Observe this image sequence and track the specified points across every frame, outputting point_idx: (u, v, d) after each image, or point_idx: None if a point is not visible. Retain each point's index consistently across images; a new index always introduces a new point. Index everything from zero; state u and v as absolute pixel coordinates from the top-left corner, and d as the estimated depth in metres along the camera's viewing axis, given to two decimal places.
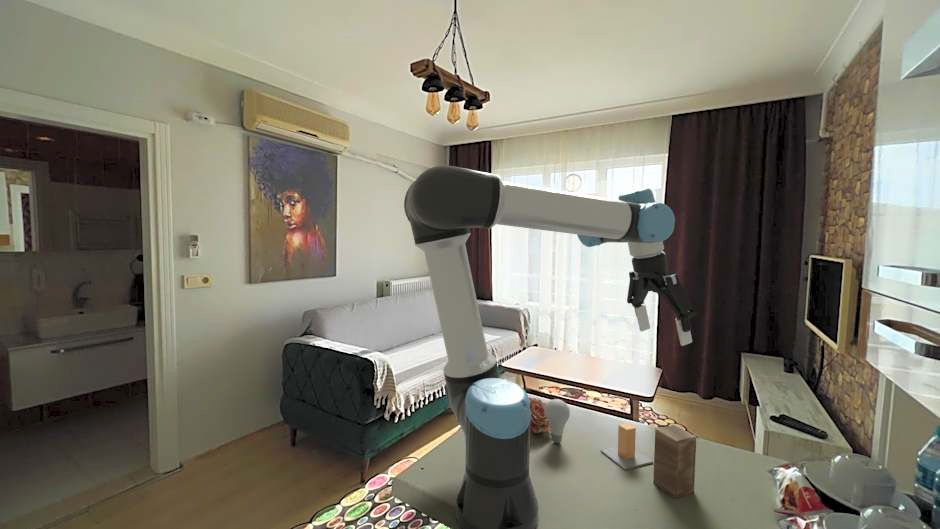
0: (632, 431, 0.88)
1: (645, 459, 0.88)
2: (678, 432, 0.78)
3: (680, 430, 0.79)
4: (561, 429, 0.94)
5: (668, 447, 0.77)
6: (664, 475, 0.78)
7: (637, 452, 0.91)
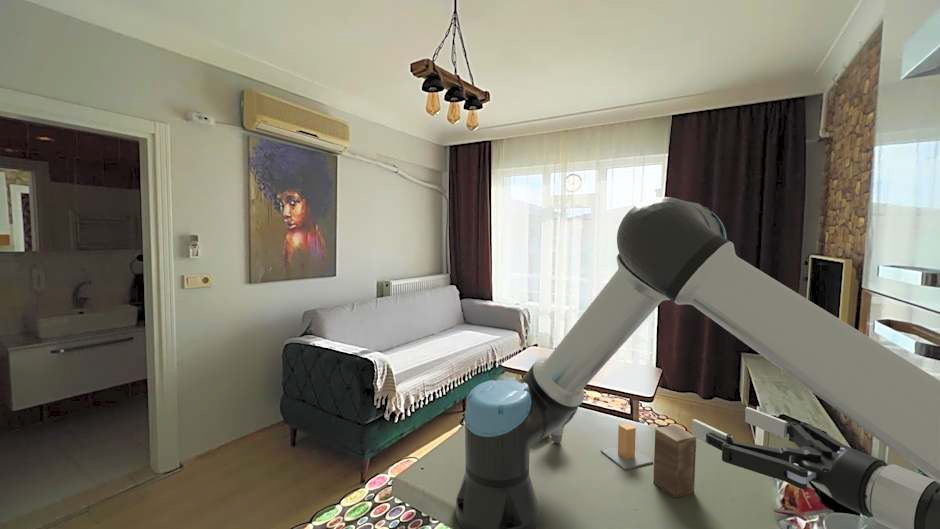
0: (632, 431, 0.88)
1: (645, 459, 0.88)
2: (678, 432, 0.78)
3: (680, 430, 0.79)
4: (561, 429, 0.94)
5: (668, 447, 0.77)
6: (664, 475, 0.78)
7: (637, 452, 0.91)
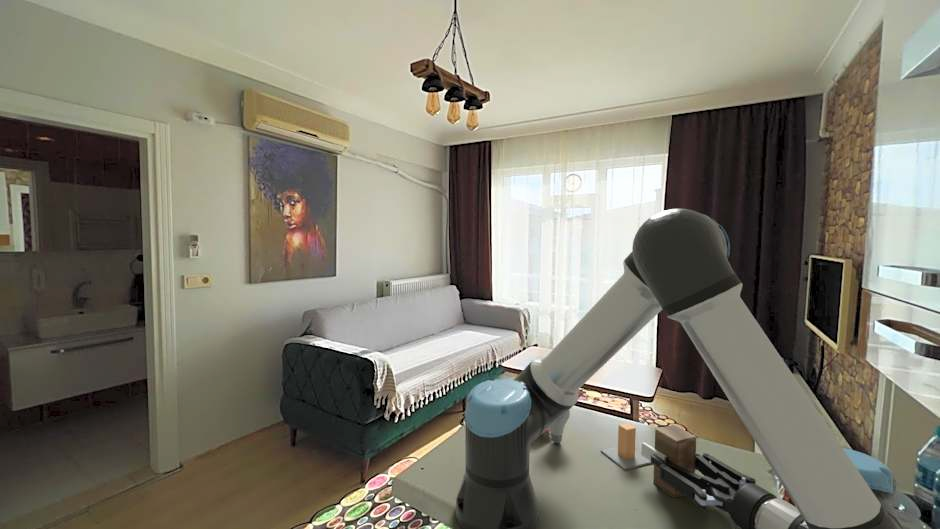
0: (632, 431, 0.88)
1: (645, 459, 0.88)
2: (678, 432, 0.78)
3: (680, 430, 0.79)
4: (561, 429, 0.94)
5: (668, 447, 0.77)
6: None
7: (637, 452, 0.91)
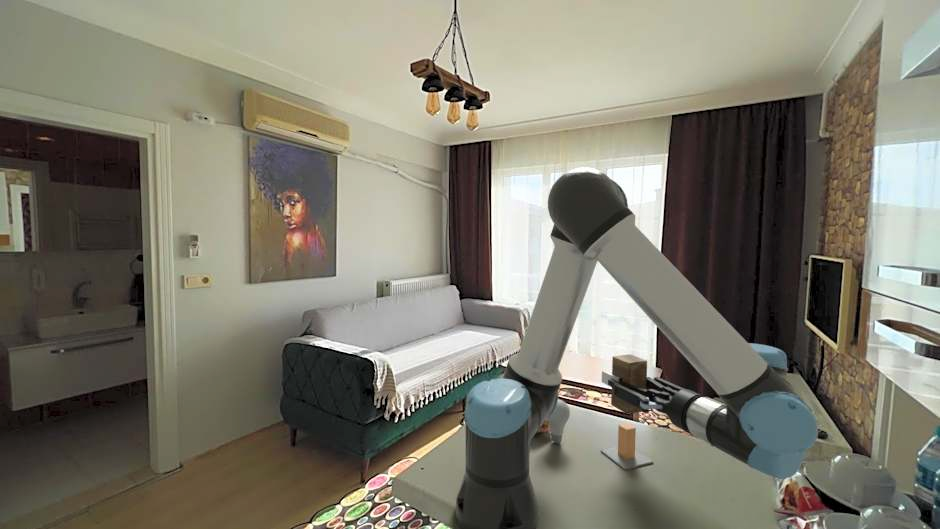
0: (632, 431, 0.88)
1: (645, 459, 0.88)
2: (632, 358, 0.88)
3: (634, 357, 0.89)
4: (561, 429, 0.94)
5: (622, 370, 0.87)
6: None
7: (637, 452, 0.91)
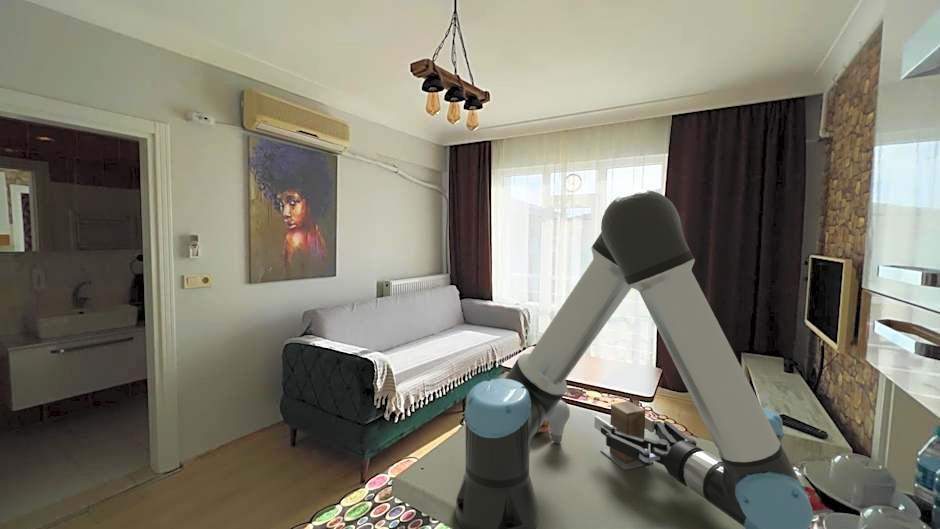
0: None
1: None
2: (630, 407, 0.89)
3: (633, 405, 0.90)
4: (561, 429, 0.94)
5: (620, 419, 0.88)
6: None
7: None
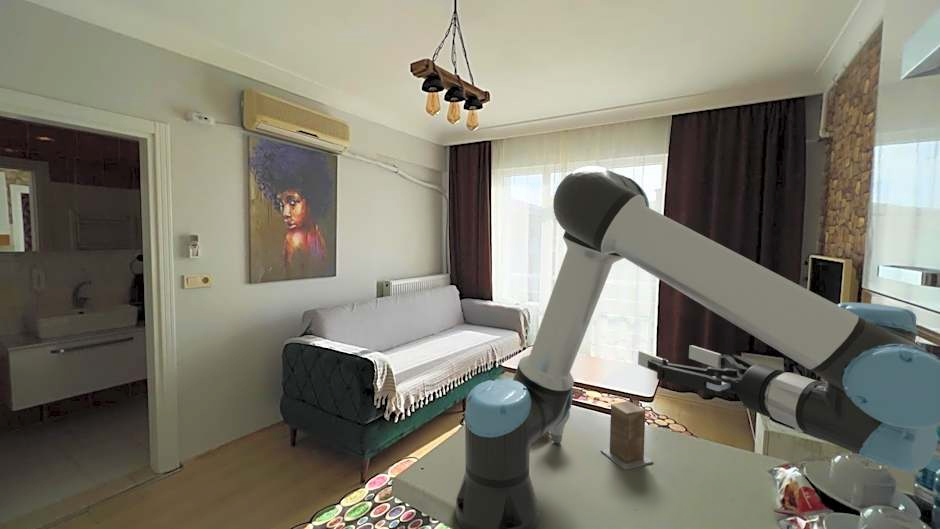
0: None
1: (645, 459, 0.88)
2: (630, 407, 0.89)
3: (633, 405, 0.90)
4: (561, 429, 0.94)
5: (620, 419, 0.88)
6: (618, 444, 0.89)
7: None
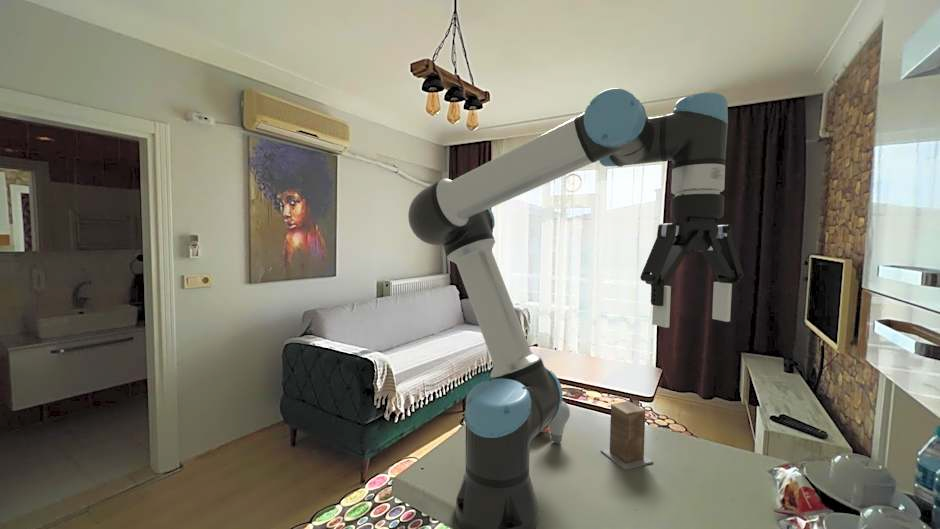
0: None
1: (645, 459, 0.88)
2: (630, 407, 0.89)
3: (633, 405, 0.90)
4: (561, 429, 0.94)
5: (620, 419, 0.88)
6: (618, 444, 0.89)
7: None
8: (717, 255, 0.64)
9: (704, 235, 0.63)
